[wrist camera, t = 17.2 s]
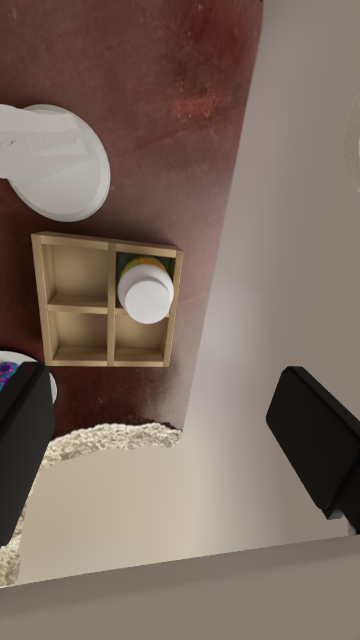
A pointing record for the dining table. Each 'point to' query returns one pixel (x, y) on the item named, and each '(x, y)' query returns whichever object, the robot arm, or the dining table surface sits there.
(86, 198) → the chess piece
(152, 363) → the grid
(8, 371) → the pudding
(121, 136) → the dining table surface
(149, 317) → the supplement bottle
